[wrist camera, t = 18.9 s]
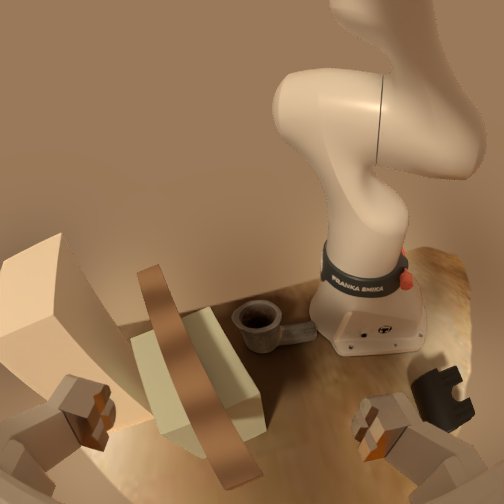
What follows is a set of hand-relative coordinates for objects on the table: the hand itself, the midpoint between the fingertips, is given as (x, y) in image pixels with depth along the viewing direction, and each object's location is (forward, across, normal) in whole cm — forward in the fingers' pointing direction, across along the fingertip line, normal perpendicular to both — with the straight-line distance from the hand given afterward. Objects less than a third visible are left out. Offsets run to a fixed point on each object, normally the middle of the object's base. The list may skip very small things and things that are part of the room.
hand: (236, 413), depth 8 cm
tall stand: (+26, +18, +28) cm, 42 cm away
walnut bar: (+16, +4, +12) cm, 20 cm away
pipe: (+33, -8, +20) cm, 40 cm away
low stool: (+22, +1, +26) cm, 34 cm away
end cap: (+16, -31, +23) cm, 41 cm away
